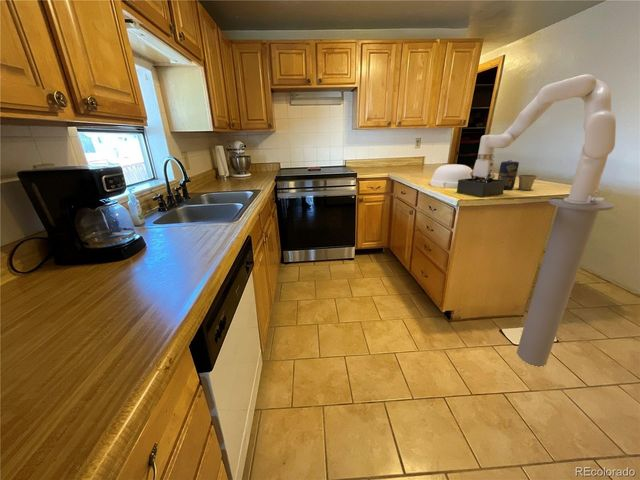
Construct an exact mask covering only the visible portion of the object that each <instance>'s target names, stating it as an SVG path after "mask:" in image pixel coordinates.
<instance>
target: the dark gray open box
mask: <svg viewBox="0 0 640 480" xmlns="http://www.w3.org/2000/svg"><path fill="white" fill-rule="evenodd" d="M480 179H483V180H485V178H481V177H478V179H477V180H480ZM504 185H505V180H498V178H493V179H492V180H491V181H490V182H489V183H479V182H473V180H472V178H469V179H461V180H458V186H457V188H456V193H458V194H462V195H468V196H473V197H476V198H477V197H478V198H486V197H487V198H488V197H492V196H493V197H494V196H498V195H503V194H504V190H505V189H504Z"/></svg>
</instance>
